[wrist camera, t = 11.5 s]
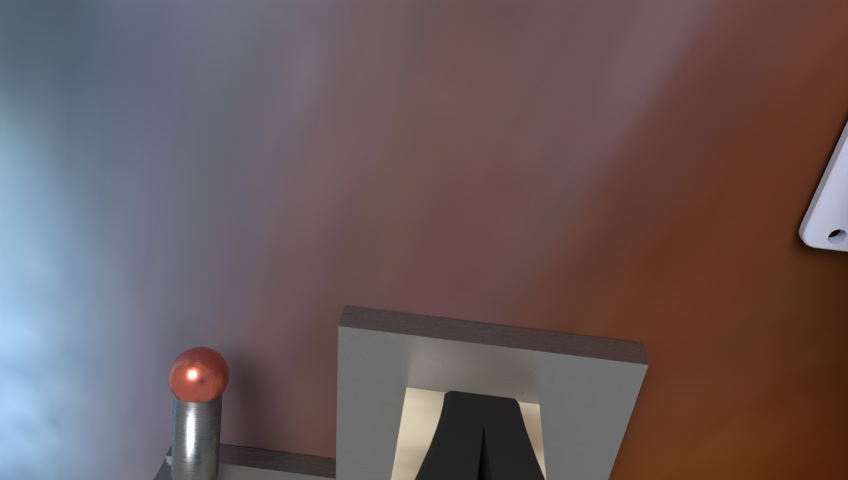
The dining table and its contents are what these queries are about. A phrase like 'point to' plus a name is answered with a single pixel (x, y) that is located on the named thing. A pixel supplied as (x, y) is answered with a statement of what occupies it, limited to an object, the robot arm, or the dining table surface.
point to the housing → (423, 422)
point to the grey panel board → (466, 372)
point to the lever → (197, 413)
